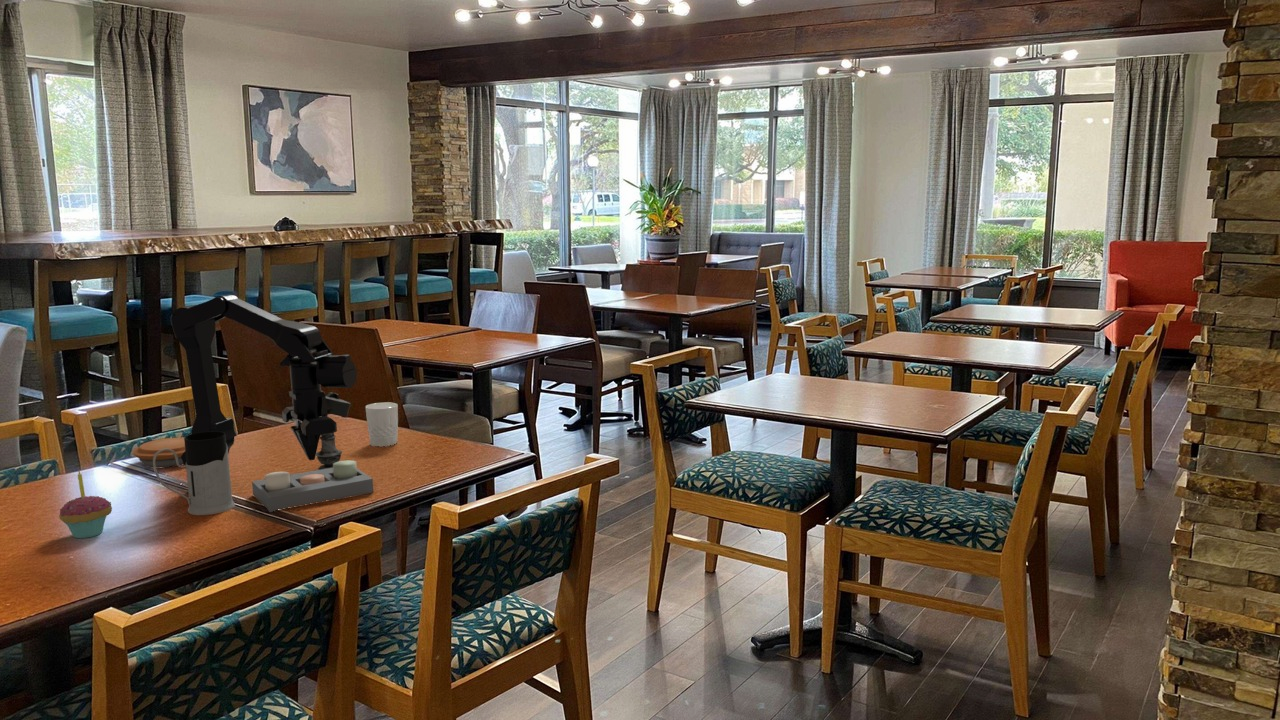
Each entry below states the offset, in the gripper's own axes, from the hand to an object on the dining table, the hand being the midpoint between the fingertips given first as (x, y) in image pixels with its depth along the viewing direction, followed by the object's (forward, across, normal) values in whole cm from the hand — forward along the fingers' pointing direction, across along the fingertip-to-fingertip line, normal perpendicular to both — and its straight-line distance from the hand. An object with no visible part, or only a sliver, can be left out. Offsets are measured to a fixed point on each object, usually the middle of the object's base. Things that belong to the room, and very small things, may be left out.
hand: (311, 459), depth 194 cm
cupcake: (+8, +1, +41) cm, 42 cm away
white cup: (+8, +32, -27) cm, 43 cm away
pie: (+8, +48, +20) cm, 53 cm away
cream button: (+5, 0, +7) cm, 9 cm away
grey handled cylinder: (+8, +3, +22) cm, 24 cm away
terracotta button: (+7, 0, 0) cm, 7 cm away
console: (+7, 0, 0) cm, 7 cm away
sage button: (+5, 0, -7) cm, 9 cm away
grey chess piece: (+8, +18, -9) cm, 22 cm away
